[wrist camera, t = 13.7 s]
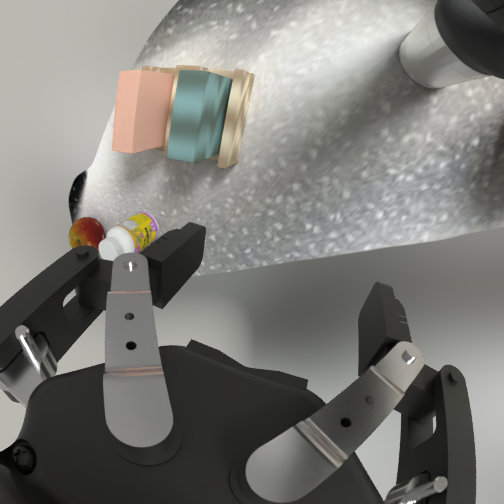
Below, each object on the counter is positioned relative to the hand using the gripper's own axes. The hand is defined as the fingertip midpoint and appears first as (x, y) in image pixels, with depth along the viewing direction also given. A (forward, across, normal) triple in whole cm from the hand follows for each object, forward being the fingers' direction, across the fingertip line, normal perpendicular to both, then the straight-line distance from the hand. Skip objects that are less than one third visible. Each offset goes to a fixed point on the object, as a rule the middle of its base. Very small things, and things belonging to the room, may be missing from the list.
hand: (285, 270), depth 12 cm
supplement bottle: (+32, +30, +20) cm, 48 cm away
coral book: (+31, +27, -4) cm, 41 cm away
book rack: (+32, +22, -4) cm, 39 cm away
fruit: (+32, +46, +26) cm, 62 cm away
